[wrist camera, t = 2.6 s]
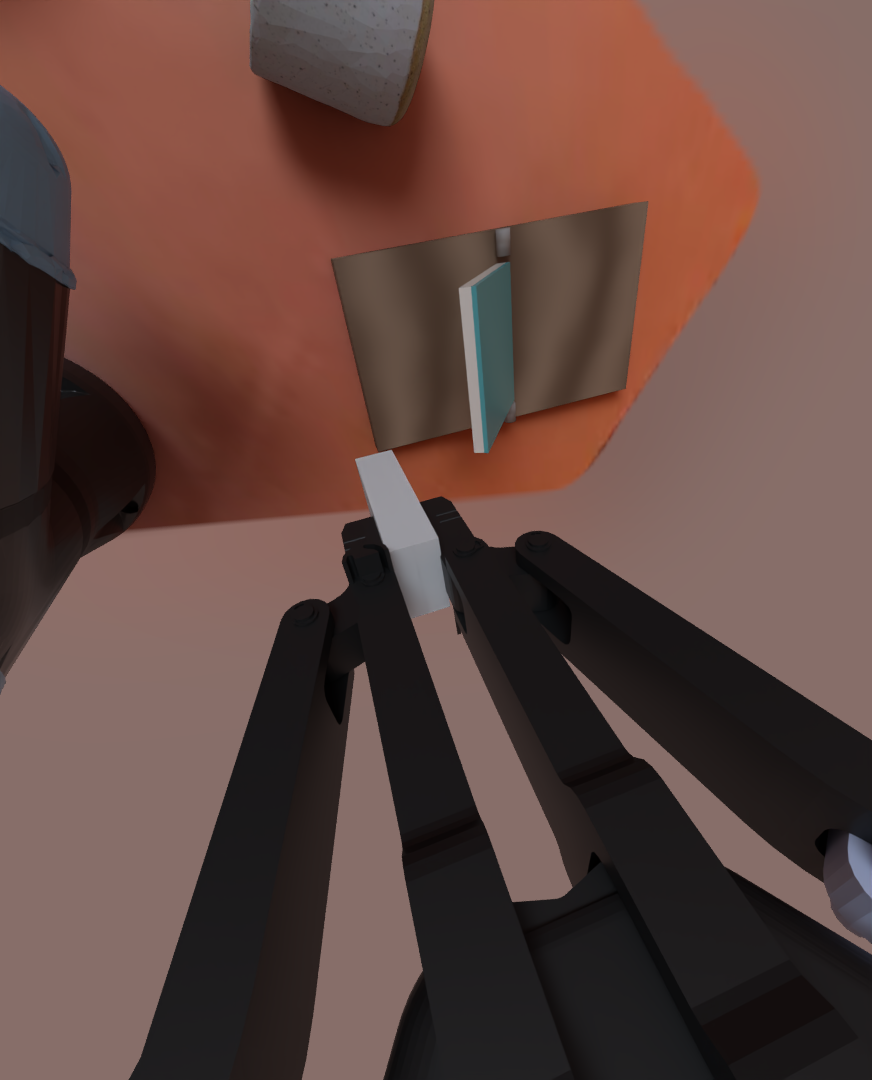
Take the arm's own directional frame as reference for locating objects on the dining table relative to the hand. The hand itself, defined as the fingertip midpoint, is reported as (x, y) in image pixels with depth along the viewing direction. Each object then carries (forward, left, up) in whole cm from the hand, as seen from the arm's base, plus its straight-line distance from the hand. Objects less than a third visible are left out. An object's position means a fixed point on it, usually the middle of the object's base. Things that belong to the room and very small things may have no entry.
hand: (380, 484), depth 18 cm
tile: (+10, 0, -14) cm, 18 cm away
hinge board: (+14, 0, -20) cm, 25 cm away
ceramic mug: (+5, +19, -21) cm, 28 cm away
